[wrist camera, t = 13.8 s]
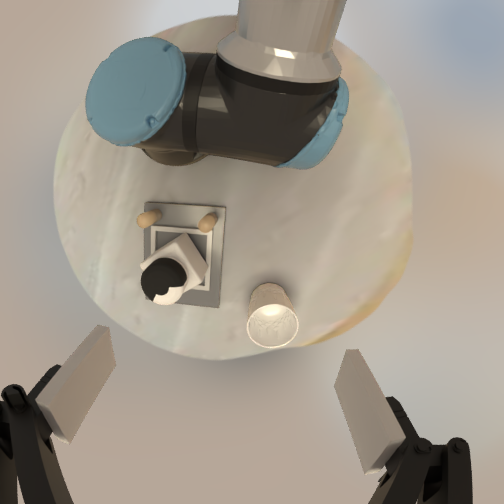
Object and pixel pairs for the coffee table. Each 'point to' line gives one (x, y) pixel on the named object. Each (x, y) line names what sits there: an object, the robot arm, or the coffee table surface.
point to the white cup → (271, 317)
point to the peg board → (202, 235)
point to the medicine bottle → (172, 271)
